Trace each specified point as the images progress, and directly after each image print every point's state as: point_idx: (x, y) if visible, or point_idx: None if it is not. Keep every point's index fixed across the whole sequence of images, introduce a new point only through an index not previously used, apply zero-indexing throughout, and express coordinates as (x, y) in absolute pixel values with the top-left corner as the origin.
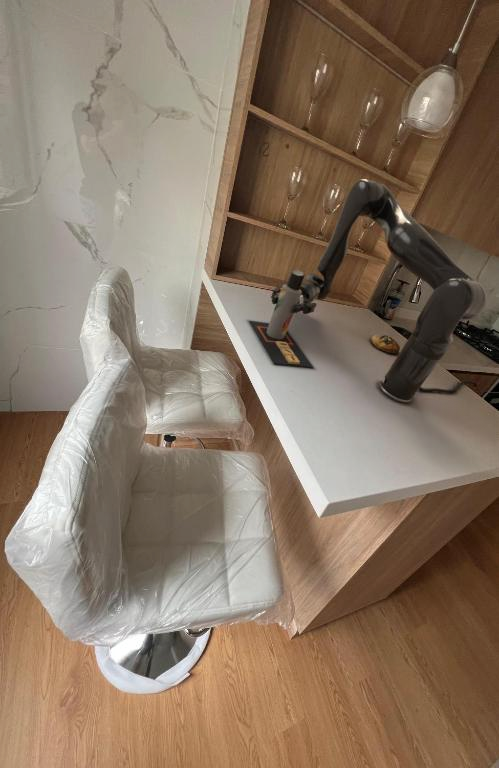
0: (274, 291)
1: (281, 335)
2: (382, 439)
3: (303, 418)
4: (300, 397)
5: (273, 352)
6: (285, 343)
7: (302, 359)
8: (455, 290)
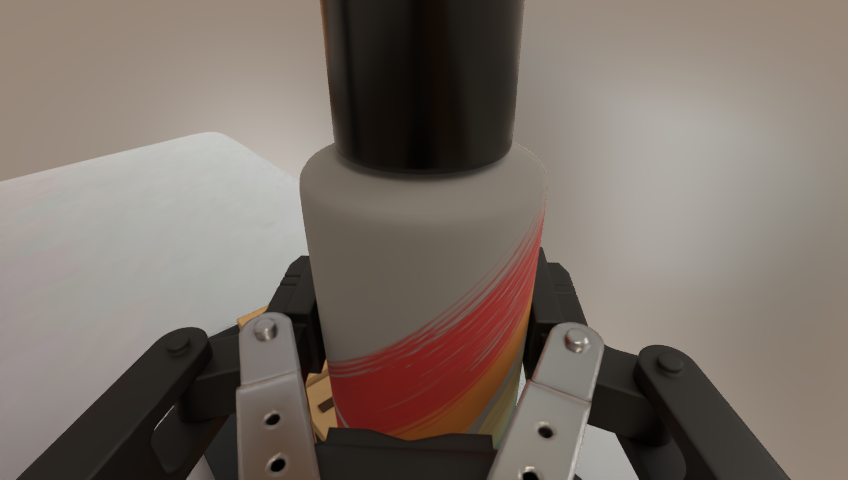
0: (657, 351)
1: None
2: (17, 219)
3: (239, 185)
4: (243, 220)
5: None
6: (327, 419)
7: None
8: None
